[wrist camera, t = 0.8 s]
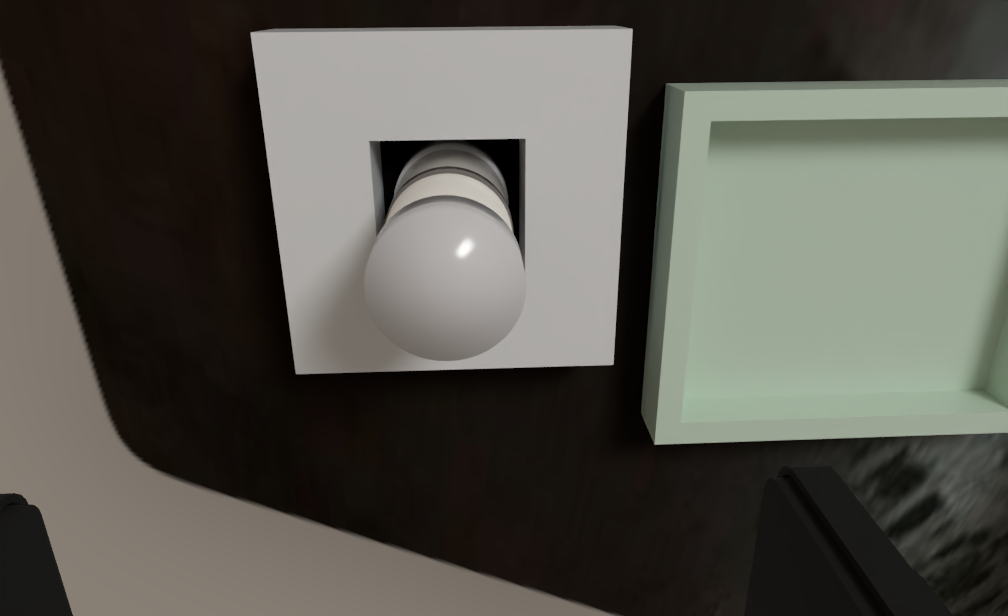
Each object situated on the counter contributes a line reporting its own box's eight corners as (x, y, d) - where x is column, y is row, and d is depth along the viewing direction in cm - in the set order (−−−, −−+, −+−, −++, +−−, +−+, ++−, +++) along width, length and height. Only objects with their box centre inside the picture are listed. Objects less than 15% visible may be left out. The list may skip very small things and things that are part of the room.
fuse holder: (614, 25, 26) (632, 29, 23) (600, 332, 31) (613, 364, 28) (273, 29, 26) (250, 32, 23) (311, 339, 30) (295, 374, 27)
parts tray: (1085, 78, 28) (1141, 85, 25) (992, 401, 33) (1031, 431, 31) (666, 83, 27) (684, 91, 25) (641, 413, 32) (654, 444, 30)
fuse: (506, 138, 27) (526, 208, 18) (506, 245, 29) (526, 358, 20) (393, 139, 27) (357, 211, 18) (400, 247, 29) (370, 363, 20)
